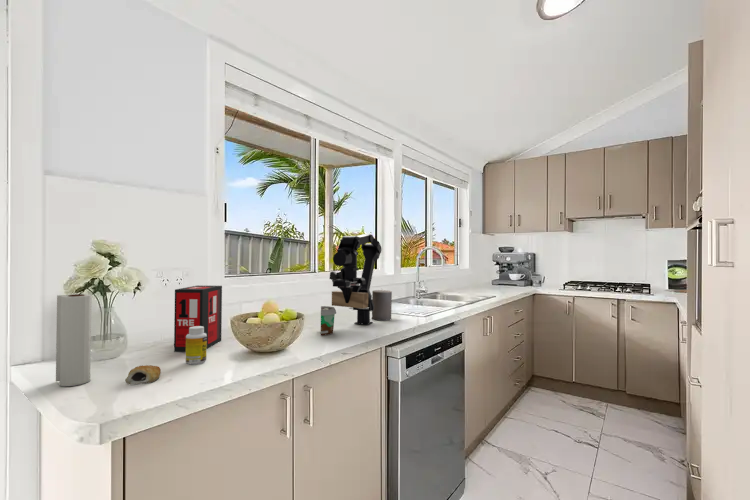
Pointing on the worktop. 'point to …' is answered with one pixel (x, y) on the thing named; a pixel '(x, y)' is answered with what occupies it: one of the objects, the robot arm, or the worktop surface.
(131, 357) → the worktop surface
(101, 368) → the worktop surface
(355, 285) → the robot arm
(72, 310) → the grey tall cylinder
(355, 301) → the block
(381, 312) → the pillar candle
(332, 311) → the food container
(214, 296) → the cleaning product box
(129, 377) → the pastry
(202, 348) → the supplement bottle
